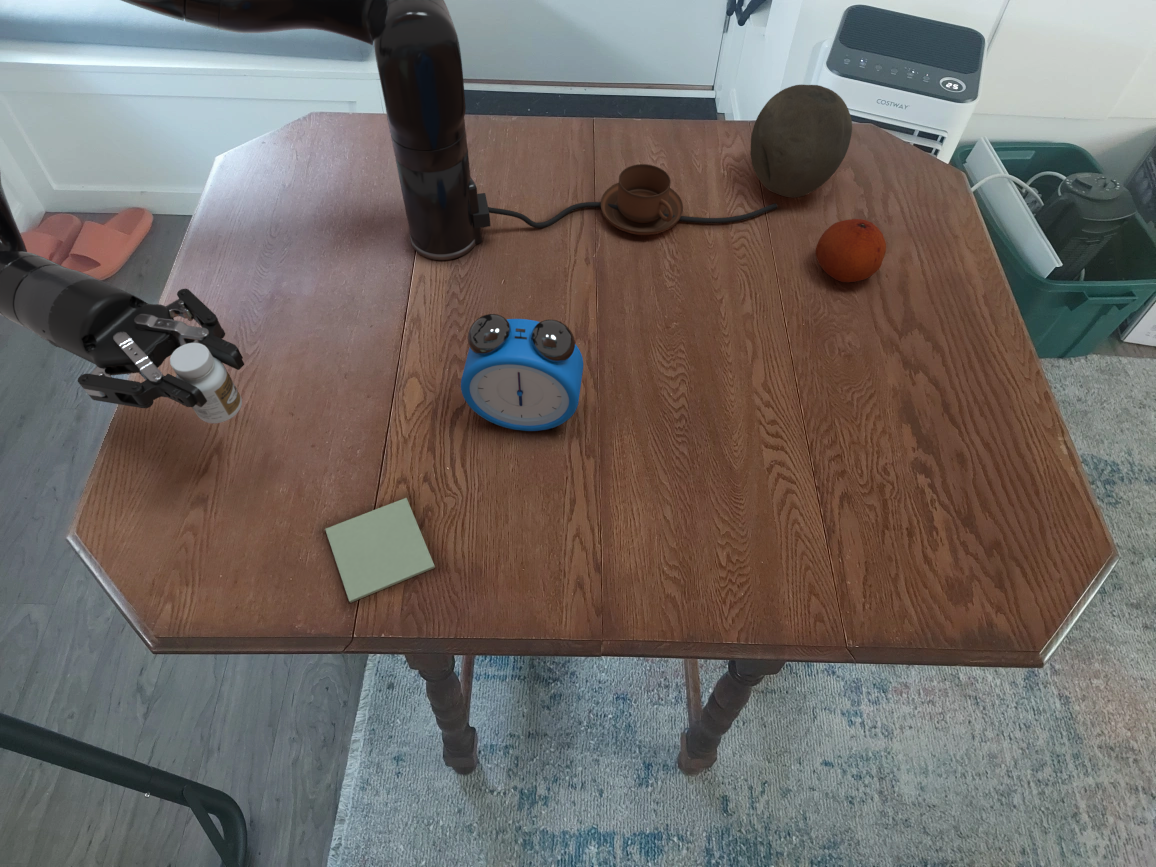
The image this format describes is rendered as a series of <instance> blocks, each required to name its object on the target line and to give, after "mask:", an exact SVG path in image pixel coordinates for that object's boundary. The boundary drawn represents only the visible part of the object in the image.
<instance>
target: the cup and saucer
mask: <svg viewBox="0 0 1156 867" xmlns="http://www.w3.org/2000/svg"><path fill="white" fill-rule="evenodd" d="M618 175H619V176H618V182H617V183H614V184H613V185H611V186H610V187H608V188H607V189H606V190H605V191H604V193H603V194H602V196H601V199H600V202H601V208H600V209H601V213H602V215H603V216H604V218H605V219H606V221H607V222H608V223H609V224H611V225H612V226H614V227H615V228H617V229H619V230H620V231H623V232H625V233H628V234H633V235H637V236H649V235H656V234H660V233H663V232H665V231H668V230H670V229H671V228H673V227H674V226H675V225H676V224H678V222H680V221H679V219H680V217H681V216H683V212H684V204H683V200H682V199H681V197H680V195H679V194H678V193H677V192H676V191H675V190H674V189H673V188H671V182H672V181H671V177H670V175H669V174H668V173H667V171H665V169H663V168H661V167H659V166H657V165H652V164H646V163H638V164H633V165H629V166H628V167H626V168H624V169H623V170H622V171H621V172H620V173H619V174H618ZM608 204H615V205H617V206H618V209H619V210H620V211H619V210H616V209H614V208H611V207H610V206H608ZM664 213H665V214H669V216H668V217H666V216H664V215H663V214H664ZM673 215H675V217H673ZM659 217H661V218H659ZM672 217H673V218H672Z"/></svg>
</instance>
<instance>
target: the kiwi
mask: <svg viewBox="0 0 1156 867" xmlns="http://www.w3.org/2000/svg"><path fill="white" fill-rule="evenodd" d="M852 134H853V120H852V115H851V113H850V110H849V107H848V106H847V104H846V102H845V100H844V99H843V98H842V96H840V95H839V94H838V93H836V92H835V91H834V90H832V89H831V88H829V87H825V86H822V85H818V84H795V85H791V86H789V87H785V88H783V89H781V90H780V91H778V92H777V93H776V94H774V95H772V96H771V98H770V99H769V100H768V101H767V102H766V103H765V105H763V107H762V109H761V110H760V112H759V114H758V115H757V116H756V120H755V121H754V124H753V128H752V132H751V136H750V152H749V153H750V161H751V165H752V169H753V171H754V174H755V175H756V177H757V179H758V180H759V181H760V183H761V184H762V185H763V187H765V188H766V190H769V191H770V192H772V193H774V194H777V195H779V196H782V197H787V198H792V199H793V198H801V197H804V196H807V195H808V194H811V193H812V192H814V191H816V190H817V189H819V188H821V187H822V186H823V185H824V184H826V182H827V181H829V179H831V177H832V176H833V175H834V174H835V173H836V172H837V170H838V169H839V168H840V166H841V165H842V162H843V161H844V159H845V157H846V155H847V152H848V150H849V147H850V143H851V140H852V136H853V135H852Z"/></svg>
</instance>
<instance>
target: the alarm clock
mask: <svg viewBox="0 0 1156 867" xmlns="http://www.w3.org/2000/svg"><path fill="white" fill-rule="evenodd" d="M467 343H468V347H469V348H468V351H467V356H466V359H465V363H464V368H463V372H462V375H461V378H460V393H461V394H462V397H463V399H464V401H465V402H466V404H467V405H468V407H469V408H470V409H471V410H472V411H473V412H474V413H476V414H477V415H478V416H480V417H481V418H483V419H484V420H485V421H488V422H490V423H491V424H492V425H497V426H498V427H502V428H506V429H509V430H515V431H522V432H538V431H546V430H549V431H552V430H553V428H557V427H559V426H561V425H563V424H565V423H566V422H567V421H568V420H570V419H571V418H572V417H573V416H574V414H575V413H576V411H577V409H578V407H579V403H580V402H579V400H580V394H581V388H582V387H581V386H582V381H583V380H582V379H583V372H584V358H583V355H582V352H581V350H580V349H579V347H578V345H577V344H576V340H575V335H574V334H573V332H572V331H571V329H570V327H568V326H567V325H566V324H565V323H563V322H562V321H560V320H558V319H557V320H556V319H550V318H549V319H544V320H541V321H537V320H533V319H527V318H507V319H506V318H505V317H504V316H503V315H501V314H497V313H488V314H484V315H481V316H480V317H478V318H477V319H476V320H475V321H474V322H473V323H472V324H471V326H470V327H469V329H468V332H467Z"/></svg>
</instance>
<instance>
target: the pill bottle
mask: <svg viewBox="0 0 1156 867" xmlns="http://www.w3.org/2000/svg"><path fill="white" fill-rule="evenodd" d="M169 357H170V358H169V364H170V366H171V368H172V370H173V371H174V373H175V377H176V378H179V379H181V380H183V381H185V382H187V383H189V384H191V385H193V386H195V387H197V388H198V389H200V390H201V392H202V393H203V395H204V396H205V398H206V400H207V402H206V403H205V404H204V405H203V406H202V407H199V406H197V405H195V406H194V407H191V408H192V410H193V411H194V413H195V414H196V416H197V417H198V418H199V419H200V420H201V421H203V422H205V423H208V424H220V423H225V422H228V421H230V419H233V418H234V417H235V416H237V414H238V413H239V411H240V410H241V408H242V404H243V398H242V395H241V393H240V392H239V390H238V389H237V385H236V384H235V383H234V381H233V379H232V376H230V373H229V372H228V370H227V368H226V367H225V366H226V365H225V364H224V363H222V362H221V361H220V360H218V359H217V358H214V357H213V356H212V355H211V353H210V351H209V350H208V348H207V347H206V346H204V345H203V344H200V343H188V344H185V345H182V346H180V347H179V348H177V349H176V350H175V351H174V352H173V353H172V355H170V356H169Z"/></svg>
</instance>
